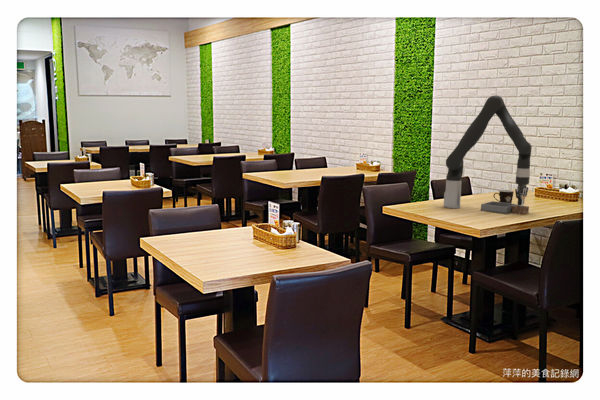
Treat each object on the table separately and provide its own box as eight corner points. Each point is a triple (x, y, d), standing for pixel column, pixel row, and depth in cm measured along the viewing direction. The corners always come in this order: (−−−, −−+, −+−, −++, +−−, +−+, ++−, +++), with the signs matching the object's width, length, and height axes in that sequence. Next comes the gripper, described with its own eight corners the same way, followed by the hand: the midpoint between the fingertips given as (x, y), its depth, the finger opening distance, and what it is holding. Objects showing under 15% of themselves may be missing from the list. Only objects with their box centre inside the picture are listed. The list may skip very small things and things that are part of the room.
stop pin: (516, 213, 327) (517, 196, 325) (518, 212, 329) (519, 195, 327) (521, 213, 325) (522, 196, 323) (523, 213, 327) (524, 196, 325)
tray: (480, 210, 335) (481, 204, 334) (492, 207, 345) (492, 201, 344) (506, 214, 324) (506, 207, 323) (517, 210, 334) (517, 204, 333)
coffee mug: (513, 205, 351) (514, 190, 349) (512, 208, 343) (513, 192, 341) (494, 204, 356) (494, 189, 354) (492, 206, 348) (493, 191, 346)
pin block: (511, 213, 327) (512, 206, 326) (516, 211, 332) (517, 205, 331) (523, 214, 322) (524, 207, 321) (528, 213, 327) (528, 206, 326)
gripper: (521, 174, 331) (519, 202, 333) (511, 176, 321) (509, 205, 324) (533, 175, 325) (531, 204, 328) (524, 177, 315) (522, 207, 318)
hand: (520, 204), depth 326 cm, fingers closed on stop pin, 3 cm apart
